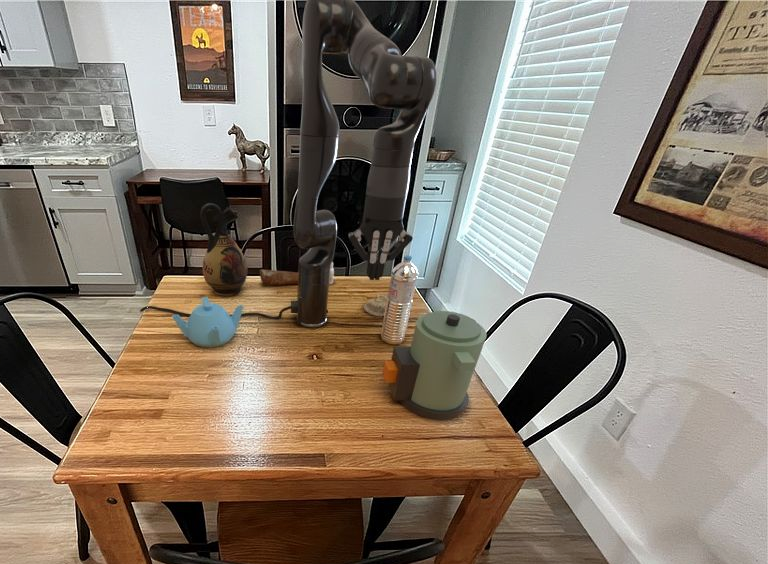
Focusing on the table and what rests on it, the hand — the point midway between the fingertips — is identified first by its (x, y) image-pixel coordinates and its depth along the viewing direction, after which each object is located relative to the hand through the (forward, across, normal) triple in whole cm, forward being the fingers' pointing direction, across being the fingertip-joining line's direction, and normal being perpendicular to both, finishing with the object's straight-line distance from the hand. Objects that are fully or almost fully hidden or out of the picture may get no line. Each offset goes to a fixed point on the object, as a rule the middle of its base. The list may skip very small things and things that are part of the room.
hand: (373, 278), depth 82 cm
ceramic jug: (+27, +40, -52) cm, 71 cm away
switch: (+21, -5, +7) cm, 23 cm away
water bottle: (+27, -13, -19) cm, 36 cm away
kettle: (+27, -15, +6) cm, 32 cm away
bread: (+27, +18, -59) cm, 67 cm away
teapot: (+27, +40, -20) cm, 52 cm away
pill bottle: (+27, +2, -60) cm, 66 cm away
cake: (+27, -13, -38) cm, 49 cm away
